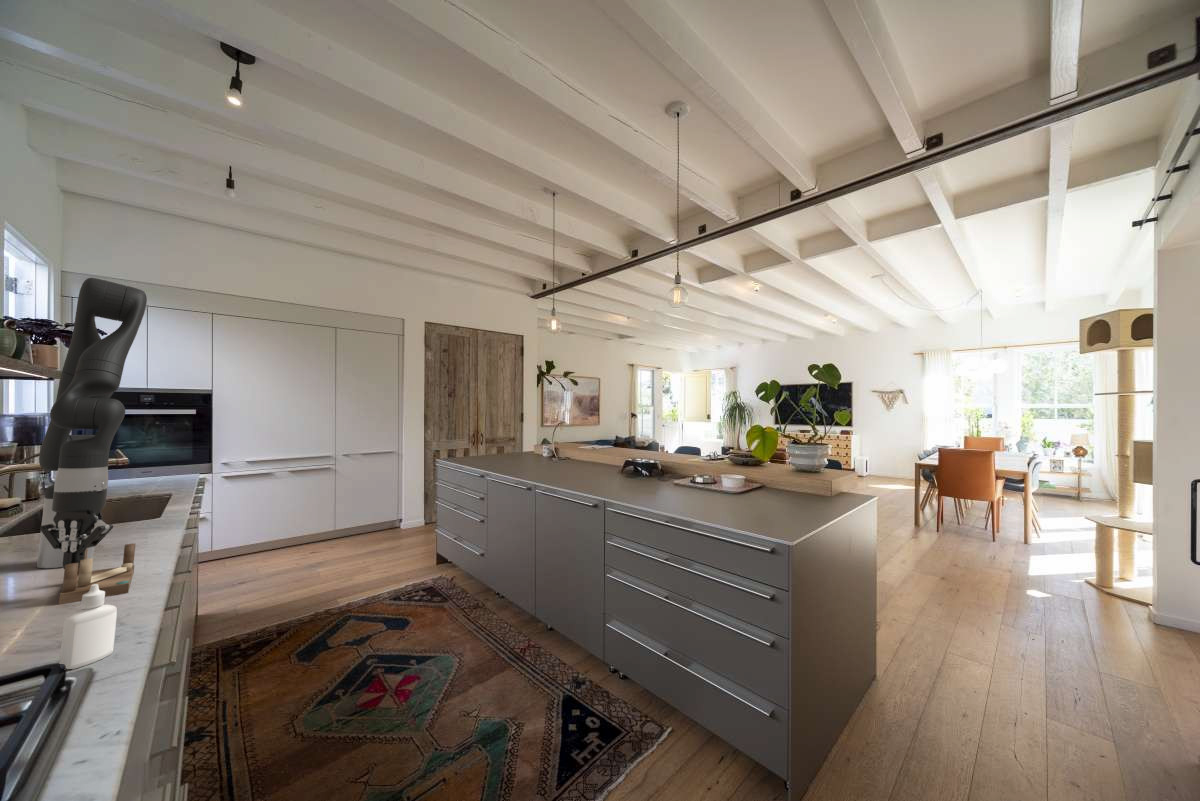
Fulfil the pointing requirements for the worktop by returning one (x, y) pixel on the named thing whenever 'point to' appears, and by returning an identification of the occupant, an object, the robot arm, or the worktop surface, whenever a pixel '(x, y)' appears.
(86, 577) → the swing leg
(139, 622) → the worktop surface
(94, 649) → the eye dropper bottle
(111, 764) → the worktop surface
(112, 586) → the wooden peg rack
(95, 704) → the worktop surface
